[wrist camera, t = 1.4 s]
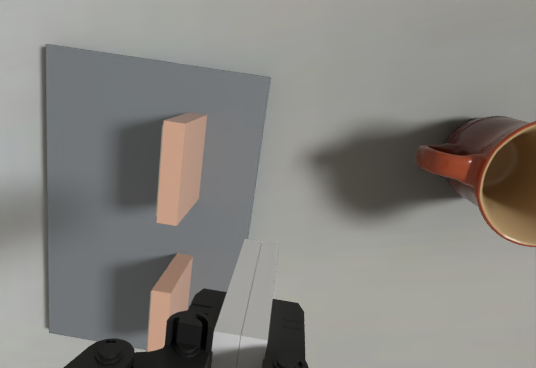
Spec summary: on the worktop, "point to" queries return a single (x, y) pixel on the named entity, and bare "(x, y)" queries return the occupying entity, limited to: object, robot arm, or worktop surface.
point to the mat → (140, 184)
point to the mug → (491, 172)
